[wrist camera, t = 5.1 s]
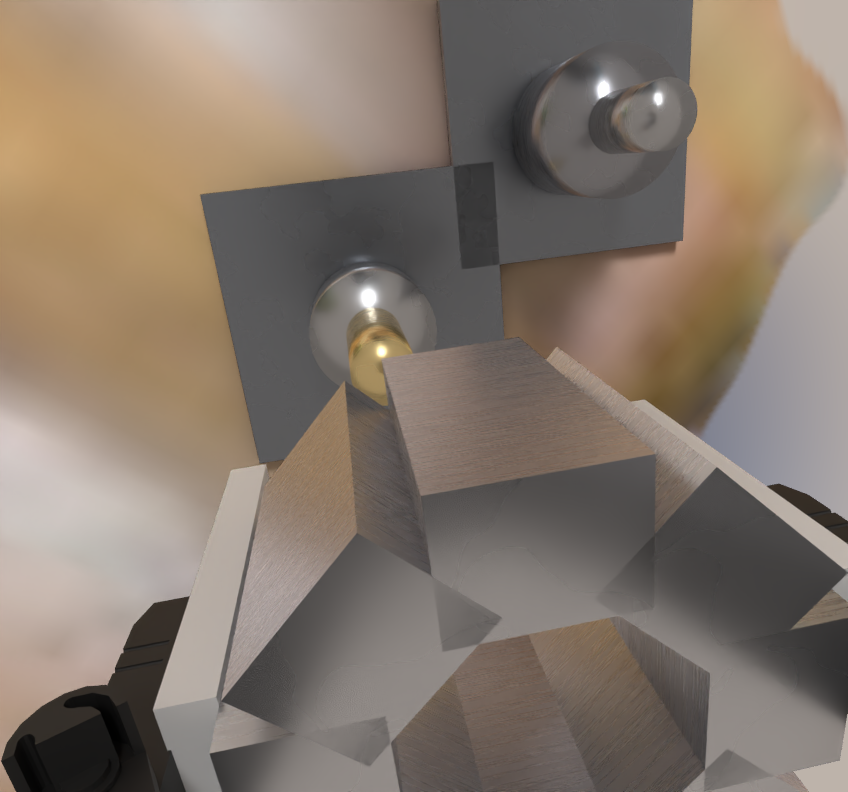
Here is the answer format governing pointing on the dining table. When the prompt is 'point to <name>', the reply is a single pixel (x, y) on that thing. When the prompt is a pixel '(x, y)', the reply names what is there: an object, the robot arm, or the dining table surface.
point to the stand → (569, 121)
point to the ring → (523, 601)
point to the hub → (345, 287)
